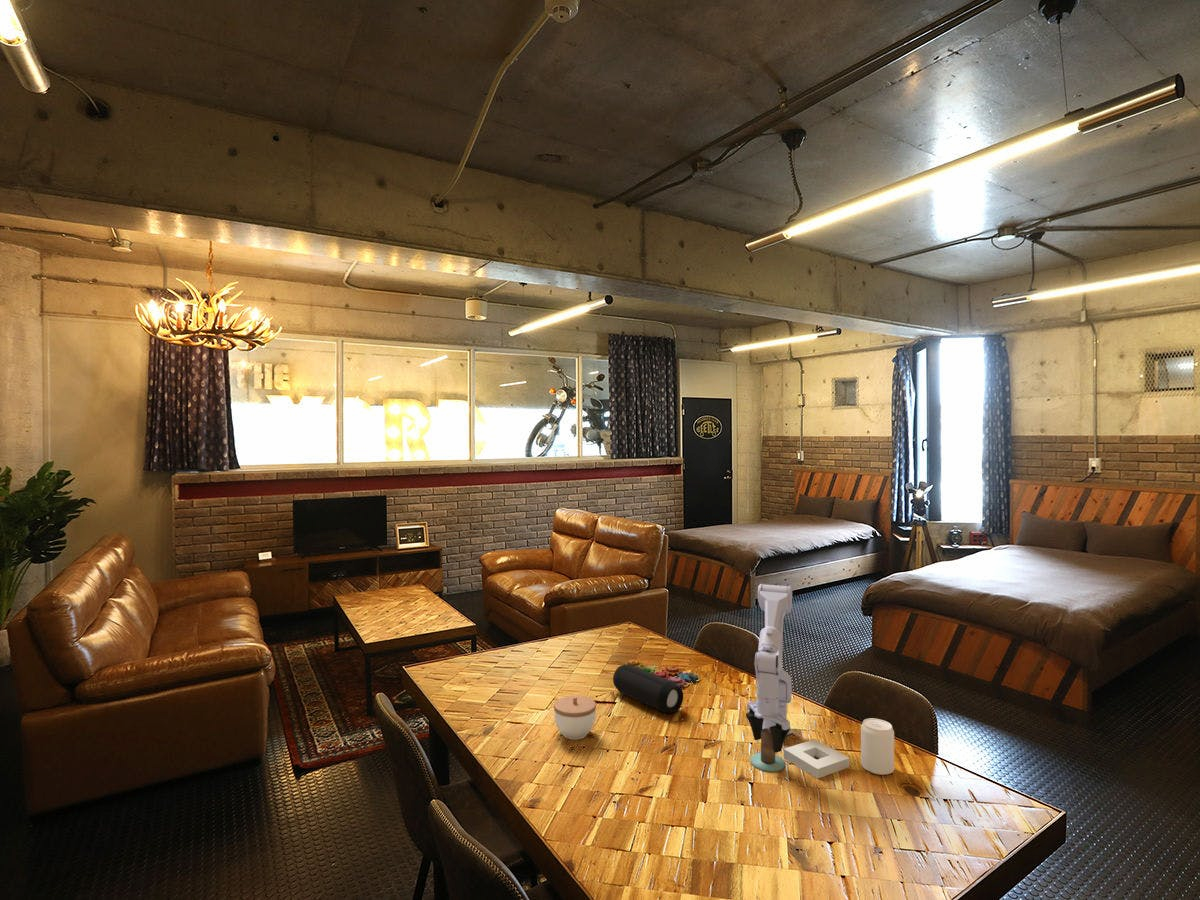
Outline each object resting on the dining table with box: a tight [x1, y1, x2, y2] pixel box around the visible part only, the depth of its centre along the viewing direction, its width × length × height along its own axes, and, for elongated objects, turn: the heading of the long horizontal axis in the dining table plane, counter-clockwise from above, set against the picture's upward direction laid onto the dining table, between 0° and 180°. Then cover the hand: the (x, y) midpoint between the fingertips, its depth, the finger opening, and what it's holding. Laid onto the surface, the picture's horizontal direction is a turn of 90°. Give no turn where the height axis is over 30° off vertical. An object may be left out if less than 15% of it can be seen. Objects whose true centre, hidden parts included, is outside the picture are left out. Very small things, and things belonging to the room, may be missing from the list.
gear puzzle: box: [622, 658, 700, 688], centre depth 232 cm, size 31×16×4 cm, turn 45°
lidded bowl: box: [553, 695, 597, 741], centre depth 184 cm, size 13×13×11 cm
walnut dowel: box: [760, 728, 776, 764], centre depth 168 cm, size 4×4×8 cm
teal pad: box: [750, 752, 786, 773], centre depth 168 cm, size 9×9×1 cm
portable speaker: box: [612, 664, 684, 714], centre depth 207 cm, size 26×10×10 cm, turn 40°
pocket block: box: [783, 738, 850, 780], centre depth 168 cm, size 12×12×2 cm
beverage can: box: [860, 717, 895, 776], centre depth 165 cm, size 8×8×12 cm
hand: (767, 745), depth 167 cm, fingers open, 7 cm apart
